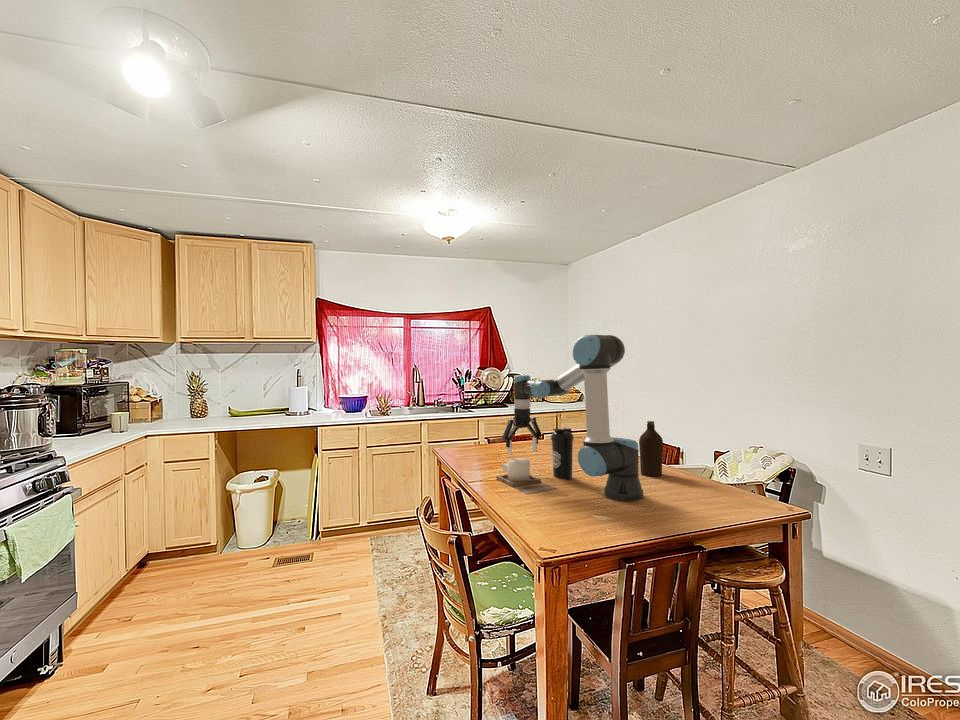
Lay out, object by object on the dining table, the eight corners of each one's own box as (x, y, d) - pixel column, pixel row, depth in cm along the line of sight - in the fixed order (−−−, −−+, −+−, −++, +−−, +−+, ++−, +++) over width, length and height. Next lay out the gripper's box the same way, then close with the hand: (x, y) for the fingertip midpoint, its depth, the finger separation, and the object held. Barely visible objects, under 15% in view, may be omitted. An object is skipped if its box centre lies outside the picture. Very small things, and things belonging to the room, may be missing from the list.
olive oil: (666, 477, 218) (665, 423, 217) (642, 477, 219) (641, 423, 218) (659, 471, 228) (659, 419, 228) (637, 471, 229) (636, 419, 229)
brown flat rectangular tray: (558, 491, 198) (557, 485, 198) (527, 496, 191) (527, 491, 191) (523, 476, 222) (523, 471, 222) (495, 481, 215) (495, 475, 215)
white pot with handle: (534, 481, 210) (534, 461, 209) (514, 485, 205) (514, 464, 205) (513, 473, 225) (513, 454, 225) (495, 475, 221) (495, 456, 221)
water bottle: (547, 476, 222) (546, 427, 221) (565, 474, 226) (564, 426, 226) (559, 482, 212) (559, 430, 212) (578, 479, 217) (577, 429, 216)
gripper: (540, 405, 231) (540, 448, 232) (495, 408, 221) (495, 453, 221) (549, 407, 225) (548, 451, 225) (502, 410, 214) (502, 457, 215)
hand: (522, 452), depth 223 cm, fingers open, 13 cm apart
